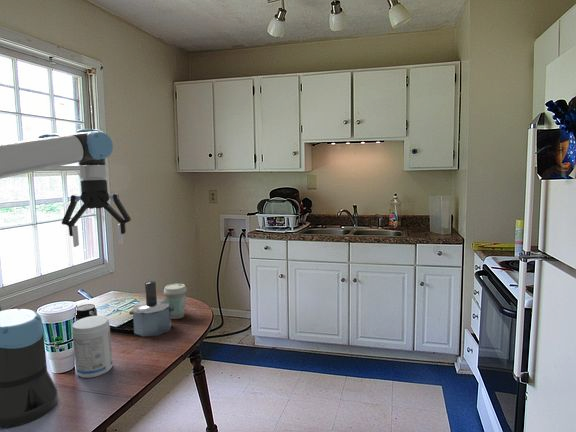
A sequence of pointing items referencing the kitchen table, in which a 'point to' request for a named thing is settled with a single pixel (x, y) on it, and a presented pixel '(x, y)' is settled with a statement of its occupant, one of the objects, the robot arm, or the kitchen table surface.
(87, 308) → the beverage can
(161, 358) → the kitchen table surface
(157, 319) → the pot
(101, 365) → the supplement tub
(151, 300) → the lid
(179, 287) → the coffee cup
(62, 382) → the kitchen table surface
